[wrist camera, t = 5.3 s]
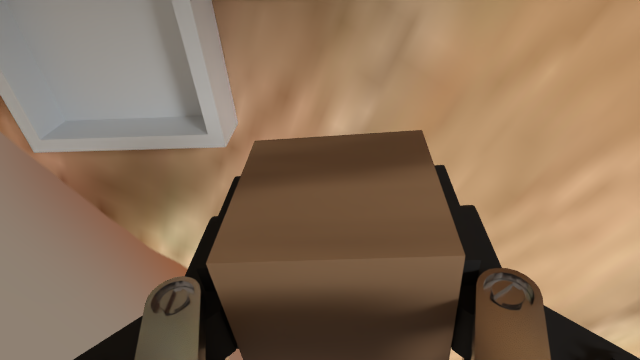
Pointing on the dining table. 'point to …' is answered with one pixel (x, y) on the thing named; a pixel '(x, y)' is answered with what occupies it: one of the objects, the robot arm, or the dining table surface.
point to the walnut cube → (339, 251)
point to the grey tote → (115, 74)
